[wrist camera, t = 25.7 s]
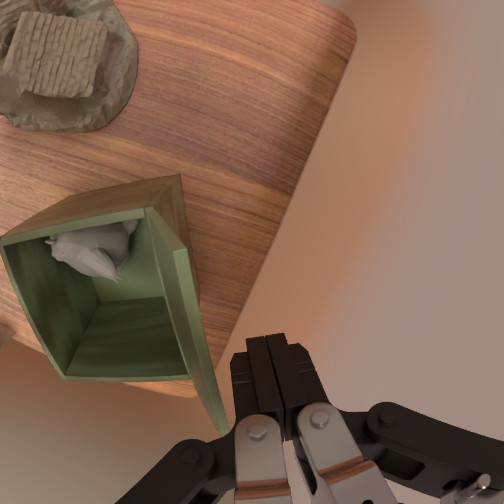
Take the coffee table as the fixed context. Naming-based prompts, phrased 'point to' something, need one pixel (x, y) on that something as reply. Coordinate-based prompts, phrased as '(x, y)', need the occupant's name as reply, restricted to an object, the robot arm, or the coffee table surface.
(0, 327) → the comb
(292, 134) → the coffee table surface
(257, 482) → the robot arm
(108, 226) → the figurine
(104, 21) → the ceramic cottage
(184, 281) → the flap
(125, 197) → the box
